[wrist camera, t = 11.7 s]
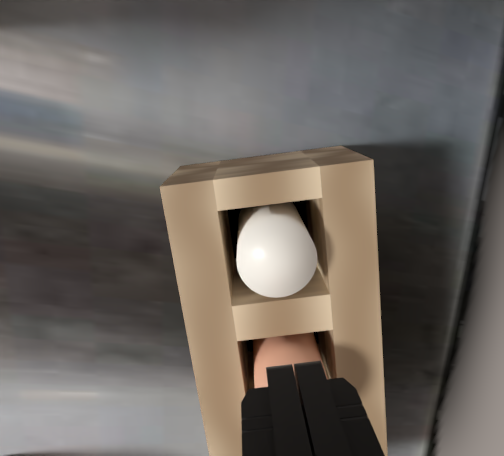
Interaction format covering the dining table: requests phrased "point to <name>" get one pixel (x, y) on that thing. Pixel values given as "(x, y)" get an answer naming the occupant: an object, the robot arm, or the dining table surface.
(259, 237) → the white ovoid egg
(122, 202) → the dining table surface
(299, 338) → the pink rounded cylinder
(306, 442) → the robot arm
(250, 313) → the maple block
